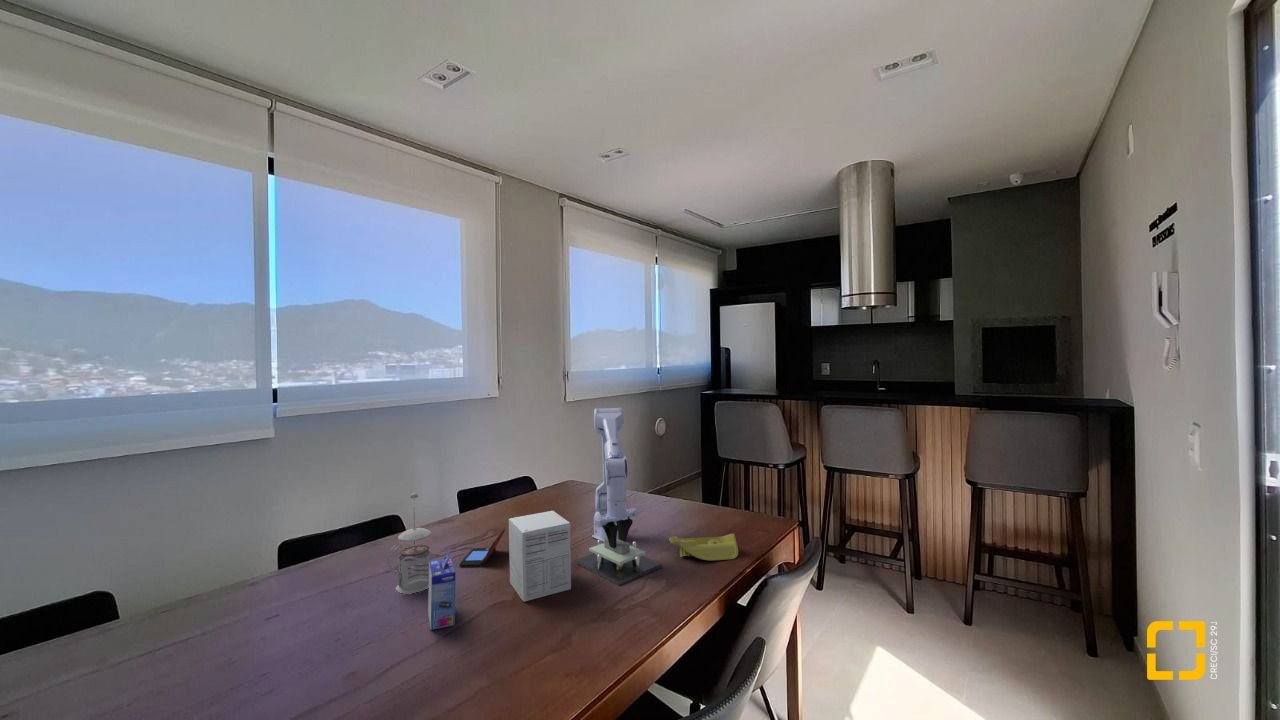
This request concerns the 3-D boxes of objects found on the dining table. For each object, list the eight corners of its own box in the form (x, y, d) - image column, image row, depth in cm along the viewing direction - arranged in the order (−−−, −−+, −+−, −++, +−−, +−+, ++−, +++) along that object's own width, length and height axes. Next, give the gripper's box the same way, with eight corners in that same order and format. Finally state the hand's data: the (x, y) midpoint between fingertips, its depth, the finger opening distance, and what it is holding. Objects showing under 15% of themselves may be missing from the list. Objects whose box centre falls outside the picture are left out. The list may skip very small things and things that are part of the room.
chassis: (575, 563, 140) (575, 546, 140) (616, 548, 151) (616, 532, 151) (619, 585, 125) (618, 566, 125) (661, 567, 136) (661, 549, 136)
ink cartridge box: (457, 625, 107) (456, 561, 107) (430, 632, 105) (429, 566, 105) (452, 606, 116) (451, 547, 116) (428, 611, 114) (427, 551, 114)
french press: (441, 584, 127) (440, 492, 128) (395, 601, 119) (394, 502, 119) (426, 574, 134) (424, 486, 134) (382, 588, 126) (380, 495, 126)
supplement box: (572, 589, 124) (571, 522, 124) (523, 603, 117) (522, 532, 117) (554, 570, 135) (553, 509, 135) (508, 582, 128) (507, 518, 128)
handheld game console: (472, 551, 151) (472, 528, 151) (506, 551, 151) (506, 527, 151) (457, 568, 138) (457, 543, 138) (494, 567, 138) (494, 542, 138)
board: (589, 550, 140) (588, 539, 140) (614, 541, 147) (614, 531, 147) (619, 565, 130) (619, 553, 130) (645, 554, 136) (645, 543, 136)
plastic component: (722, 536, 153) (736, 532, 145) (725, 561, 150) (740, 558, 141) (664, 539, 147) (675, 535, 139) (667, 565, 144) (678, 562, 136)
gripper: (605, 507, 130) (606, 556, 130) (644, 496, 140) (644, 542, 140) (590, 502, 135) (591, 549, 135) (628, 492, 145) (629, 536, 145)
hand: (617, 545), depth 138 cm, fingers closed on board, 3 cm apart
